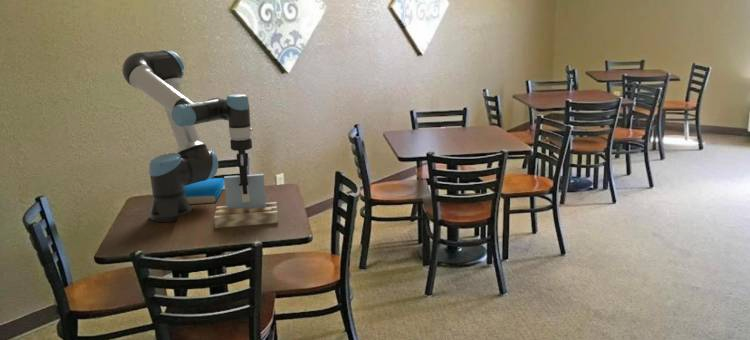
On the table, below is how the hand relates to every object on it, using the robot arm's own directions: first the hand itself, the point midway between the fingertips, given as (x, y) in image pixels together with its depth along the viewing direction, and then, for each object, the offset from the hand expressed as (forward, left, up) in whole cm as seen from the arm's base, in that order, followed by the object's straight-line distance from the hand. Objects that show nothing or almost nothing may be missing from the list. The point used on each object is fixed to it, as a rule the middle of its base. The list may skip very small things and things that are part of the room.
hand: (246, 200), depth 221 cm
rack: (0, -3, -8) cm, 8 cm away
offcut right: (+5, -5, -6) cm, 10 cm away
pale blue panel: (0, 0, -6) cm, 6 cm away
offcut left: (-5, -5, -6) cm, 10 cm away
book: (-20, +39, -9) cm, 45 cm away
